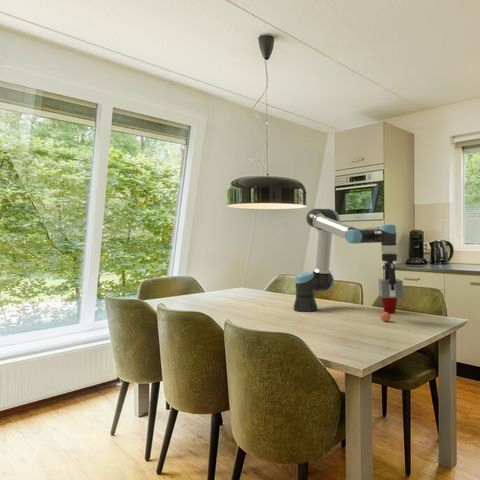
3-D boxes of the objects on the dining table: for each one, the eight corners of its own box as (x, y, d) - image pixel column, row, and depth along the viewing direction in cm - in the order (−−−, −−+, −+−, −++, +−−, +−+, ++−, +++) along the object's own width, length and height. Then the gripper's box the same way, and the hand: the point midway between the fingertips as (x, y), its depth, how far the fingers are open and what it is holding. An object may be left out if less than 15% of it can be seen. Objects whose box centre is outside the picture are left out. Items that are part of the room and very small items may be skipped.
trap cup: (382, 297, 195) (381, 281, 195) (379, 295, 205) (378, 279, 205) (403, 298, 193) (402, 280, 193) (398, 295, 203) (398, 279, 203)
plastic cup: (401, 314, 217) (401, 293, 217) (382, 314, 219) (381, 293, 219) (397, 311, 227) (397, 291, 227) (379, 310, 229) (378, 291, 229)
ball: (392, 315, 196) (388, 323, 197) (391, 313, 201) (387, 322, 202) (383, 311, 198) (379, 319, 198) (382, 309, 202) (378, 317, 203)
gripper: (401, 254, 188) (402, 298, 187) (392, 252, 210) (393, 292, 210) (385, 254, 189) (387, 298, 189) (378, 253, 211) (379, 292, 211)
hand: (390, 295), depth 199 cm, fingers closed on trap cup, 10 cm apart
